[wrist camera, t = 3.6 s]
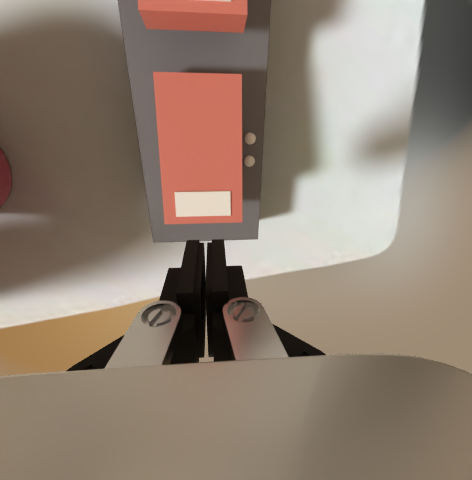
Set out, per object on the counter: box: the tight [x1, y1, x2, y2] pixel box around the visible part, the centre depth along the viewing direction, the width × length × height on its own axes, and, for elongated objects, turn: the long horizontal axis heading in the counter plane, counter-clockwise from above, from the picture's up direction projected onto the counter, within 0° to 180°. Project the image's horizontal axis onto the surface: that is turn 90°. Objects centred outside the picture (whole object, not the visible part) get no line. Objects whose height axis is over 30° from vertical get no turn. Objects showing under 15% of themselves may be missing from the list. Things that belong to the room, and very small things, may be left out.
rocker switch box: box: [118, 0, 271, 242], centre depth 17 cm, size 29×9×5 cm, turn 179°
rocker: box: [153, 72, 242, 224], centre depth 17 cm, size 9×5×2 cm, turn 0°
